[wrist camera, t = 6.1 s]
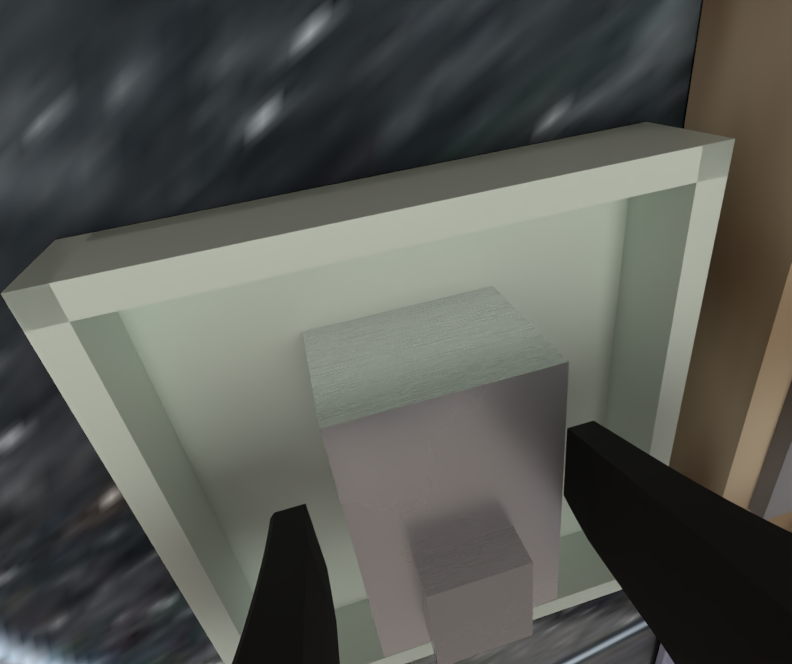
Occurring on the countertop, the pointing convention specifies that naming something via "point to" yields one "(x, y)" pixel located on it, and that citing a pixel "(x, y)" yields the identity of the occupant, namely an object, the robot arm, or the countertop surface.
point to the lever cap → (446, 466)
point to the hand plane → (744, 265)
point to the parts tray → (354, 298)
